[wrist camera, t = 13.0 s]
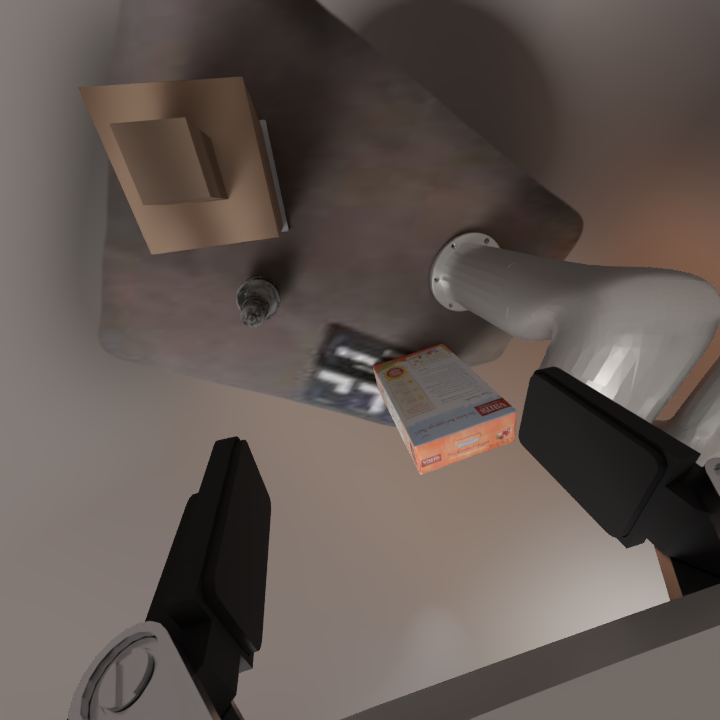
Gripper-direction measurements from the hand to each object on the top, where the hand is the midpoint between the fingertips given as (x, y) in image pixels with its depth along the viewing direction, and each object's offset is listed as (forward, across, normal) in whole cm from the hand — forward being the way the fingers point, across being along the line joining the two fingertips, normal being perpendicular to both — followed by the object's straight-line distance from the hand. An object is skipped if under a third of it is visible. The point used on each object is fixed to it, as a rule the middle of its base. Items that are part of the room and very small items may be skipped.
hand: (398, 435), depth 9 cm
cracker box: (+38, -14, +22) cm, 46 cm away
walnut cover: (+38, +9, -10) cm, 40 cm away
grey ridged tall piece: (+38, +9, +4) cm, 40 cm away
